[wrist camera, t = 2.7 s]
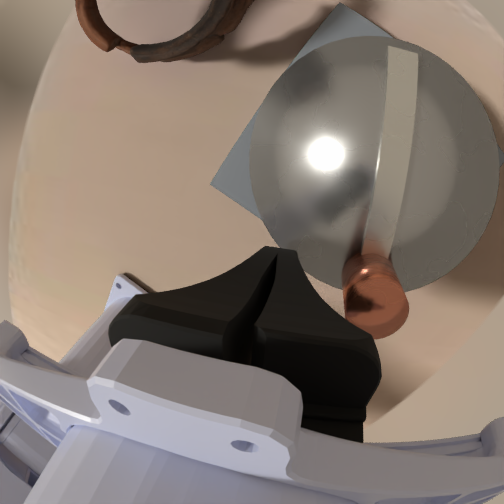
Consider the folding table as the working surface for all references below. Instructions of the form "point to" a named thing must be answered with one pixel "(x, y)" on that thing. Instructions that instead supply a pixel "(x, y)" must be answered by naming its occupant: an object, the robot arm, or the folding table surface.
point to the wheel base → (237, 162)
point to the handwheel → (374, 171)
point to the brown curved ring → (189, 44)
